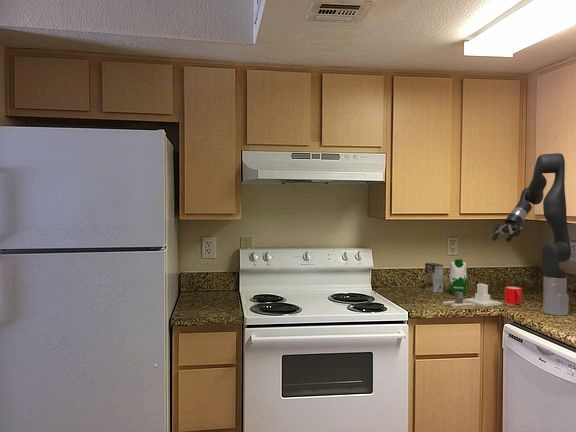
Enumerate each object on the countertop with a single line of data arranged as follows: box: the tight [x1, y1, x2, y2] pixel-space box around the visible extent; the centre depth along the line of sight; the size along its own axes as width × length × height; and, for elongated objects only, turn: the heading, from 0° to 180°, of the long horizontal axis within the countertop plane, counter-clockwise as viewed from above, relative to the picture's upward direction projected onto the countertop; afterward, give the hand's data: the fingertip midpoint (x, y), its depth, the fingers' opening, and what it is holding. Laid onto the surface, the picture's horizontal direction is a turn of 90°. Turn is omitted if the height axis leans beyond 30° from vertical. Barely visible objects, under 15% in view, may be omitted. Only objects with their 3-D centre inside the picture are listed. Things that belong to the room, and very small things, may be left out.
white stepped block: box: [474, 283, 491, 302], centre depth 225 cm, size 5×5×8 cm
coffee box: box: [424, 262, 444, 293], centre depth 257 cm, size 9×6×16 cm
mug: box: [504, 285, 523, 305], centre depth 223 cm, size 8×12×8 cm, turn 177°
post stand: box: [442, 292, 477, 310], centre depth 219 cm, size 11×11×7 cm
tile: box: [463, 297, 503, 307], centre depth 225 cm, size 14×12×1 cm
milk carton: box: [449, 258, 467, 296], centre depth 247 cm, size 9×9×20 cm
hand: (500, 240), depth 224 cm, fingers open, 8 cm apart
